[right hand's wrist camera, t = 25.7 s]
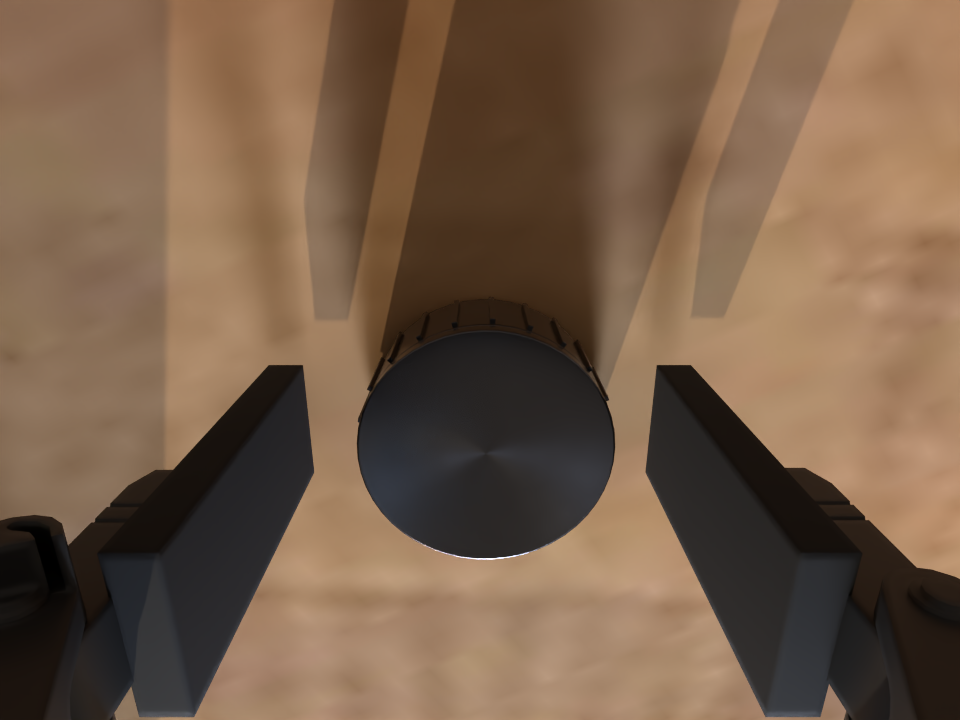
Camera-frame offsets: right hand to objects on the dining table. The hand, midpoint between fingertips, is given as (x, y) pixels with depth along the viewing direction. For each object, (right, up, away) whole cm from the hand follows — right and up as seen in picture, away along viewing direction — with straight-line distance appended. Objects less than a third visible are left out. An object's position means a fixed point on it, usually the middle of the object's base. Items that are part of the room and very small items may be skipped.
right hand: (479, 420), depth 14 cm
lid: (0, 0, -1) cm, 1 cm away
